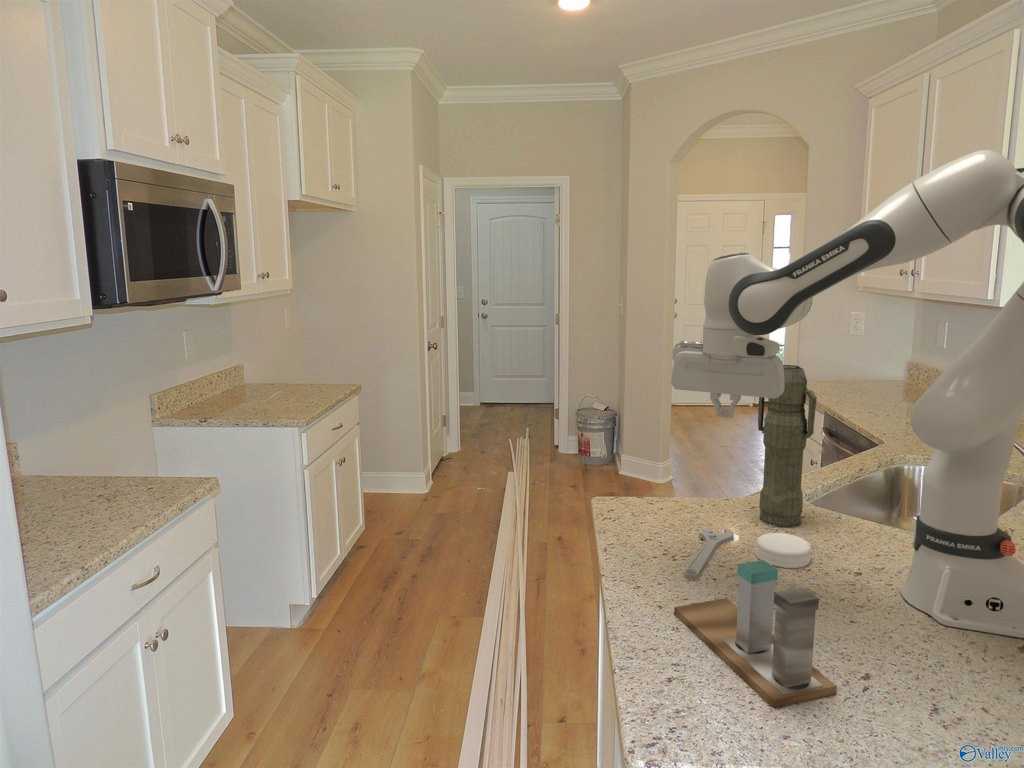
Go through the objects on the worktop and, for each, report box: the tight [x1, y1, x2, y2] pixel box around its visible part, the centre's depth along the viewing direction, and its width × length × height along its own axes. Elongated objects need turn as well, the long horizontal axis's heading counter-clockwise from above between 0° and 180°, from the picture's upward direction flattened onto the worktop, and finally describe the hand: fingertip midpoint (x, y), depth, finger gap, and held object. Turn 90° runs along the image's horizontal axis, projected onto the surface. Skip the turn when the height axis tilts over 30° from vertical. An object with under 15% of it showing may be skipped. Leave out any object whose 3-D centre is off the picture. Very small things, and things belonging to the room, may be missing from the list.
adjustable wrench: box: [683, 527, 735, 581], centre depth 140 cm, size 25×6×2 cm, turn 146°
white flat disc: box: [755, 532, 812, 569], centre depth 137 cm, size 10×10×4 cm
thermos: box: [757, 364, 817, 528], centre depth 153 cm, size 9×12×35 cm
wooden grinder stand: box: [673, 586, 838, 709], centre depth 104 cm, size 26×10×14 cm, turn 17°
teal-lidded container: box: [736, 559, 779, 653], centre depth 103 cm, size 3×4×13 cm
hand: (724, 416), depth 130 cm, fingers closed
